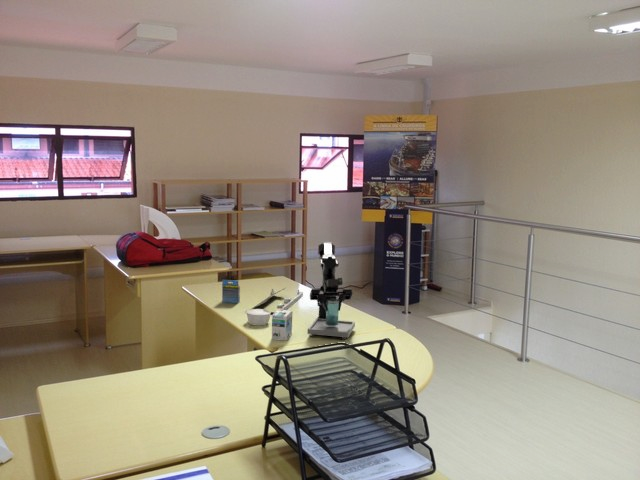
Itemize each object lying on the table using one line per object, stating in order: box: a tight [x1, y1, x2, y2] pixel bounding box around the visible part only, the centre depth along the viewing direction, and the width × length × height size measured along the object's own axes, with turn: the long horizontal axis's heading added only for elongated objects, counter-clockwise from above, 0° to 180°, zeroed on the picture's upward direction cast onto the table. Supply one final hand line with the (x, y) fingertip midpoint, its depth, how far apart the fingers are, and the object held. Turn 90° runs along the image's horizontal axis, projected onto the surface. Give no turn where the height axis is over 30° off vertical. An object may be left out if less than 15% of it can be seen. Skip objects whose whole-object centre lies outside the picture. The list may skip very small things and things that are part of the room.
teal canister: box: [326, 298, 340, 326], centre depth 267 cm, size 6×6×11 cm
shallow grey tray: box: [307, 317, 356, 341], centre depth 268 cm, size 18×18×4 cm
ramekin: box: [246, 308, 272, 326], centre depth 281 cm, size 11×11×5 cm
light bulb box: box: [271, 308, 293, 341], centre depth 261 cm, size 11×7×11 cm, turn 168°
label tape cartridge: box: [221, 279, 241, 304], centre depth 317 cm, size 9×4×12 cm, turn 84°
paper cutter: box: [251, 287, 304, 314], centre depth 317 cm, size 18×45×6 cm, turn 166°
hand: (333, 310), depth 265 cm, fingers closed on teal canister, 5 cm apart
